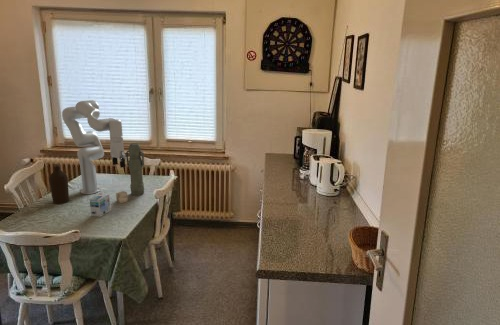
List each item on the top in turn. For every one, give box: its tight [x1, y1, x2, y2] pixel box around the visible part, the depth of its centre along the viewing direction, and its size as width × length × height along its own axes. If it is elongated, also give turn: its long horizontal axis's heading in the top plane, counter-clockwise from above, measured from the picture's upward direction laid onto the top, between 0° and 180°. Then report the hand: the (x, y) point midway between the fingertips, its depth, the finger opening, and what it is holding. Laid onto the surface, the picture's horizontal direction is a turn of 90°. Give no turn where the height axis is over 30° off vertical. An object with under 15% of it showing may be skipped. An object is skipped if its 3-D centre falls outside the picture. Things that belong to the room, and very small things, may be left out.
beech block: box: [115, 190, 128, 204], centre depth 241 cm, size 5×5×6 cm
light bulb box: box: [89, 192, 111, 218], centre depth 221 cm, size 11×7×11 cm, turn 168°
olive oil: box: [48, 163, 70, 205], centre depth 237 cm, size 11×11×25 cm
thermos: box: [125, 142, 145, 196], centre depth 252 cm, size 9×12×35 cm
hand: (119, 165), depth 236 cm, fingers open, 9 cm apart
